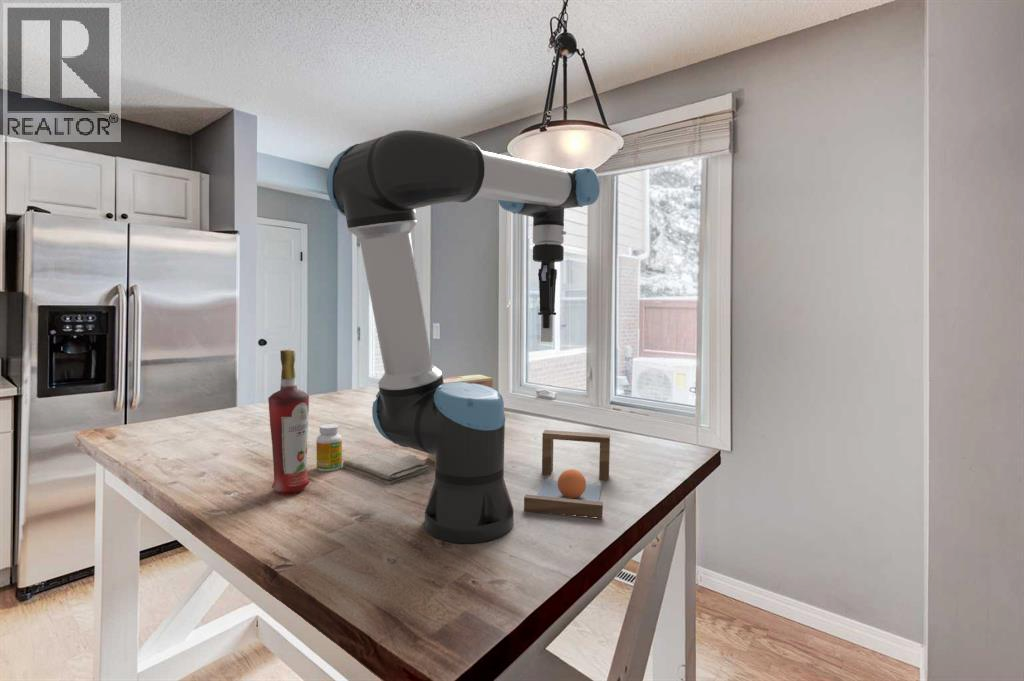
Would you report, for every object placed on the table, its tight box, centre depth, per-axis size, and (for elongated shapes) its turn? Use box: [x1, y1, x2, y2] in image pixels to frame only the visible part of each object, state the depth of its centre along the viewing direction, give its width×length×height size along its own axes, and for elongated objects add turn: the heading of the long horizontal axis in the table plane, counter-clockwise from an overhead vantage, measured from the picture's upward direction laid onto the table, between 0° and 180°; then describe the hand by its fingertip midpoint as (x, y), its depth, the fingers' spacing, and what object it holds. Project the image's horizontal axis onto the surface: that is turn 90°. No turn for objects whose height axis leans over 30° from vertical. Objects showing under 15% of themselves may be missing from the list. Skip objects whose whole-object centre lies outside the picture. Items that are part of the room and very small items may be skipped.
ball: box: [557, 468, 587, 499], centre depth 96 cm, size 6×6×6 cm
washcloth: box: [341, 448, 431, 486], centre depth 112 cm, size 12×18×3 cm, turn 53°
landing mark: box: [536, 479, 603, 502], centre depth 98 cm, size 12×12×1 cm
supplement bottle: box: [315, 423, 343, 473], centre depth 112 cm, size 5×5×10 cm
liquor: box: [267, 349, 310, 496], centre depth 97 cm, size 7×7×28 cm
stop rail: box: [523, 493, 604, 519], centre depth 89 cm, size 2×14×2 cm, turn 77°
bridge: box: [541, 429, 611, 480], centre depth 109 cm, size 3×14×9 cm, turn 76°
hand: (546, 341), depth 122 cm, fingers closed
